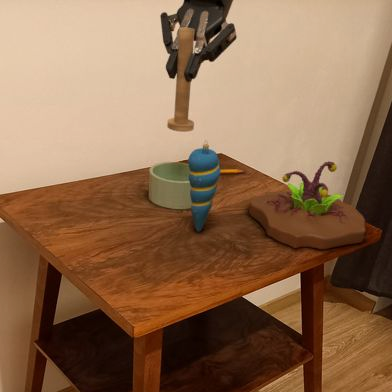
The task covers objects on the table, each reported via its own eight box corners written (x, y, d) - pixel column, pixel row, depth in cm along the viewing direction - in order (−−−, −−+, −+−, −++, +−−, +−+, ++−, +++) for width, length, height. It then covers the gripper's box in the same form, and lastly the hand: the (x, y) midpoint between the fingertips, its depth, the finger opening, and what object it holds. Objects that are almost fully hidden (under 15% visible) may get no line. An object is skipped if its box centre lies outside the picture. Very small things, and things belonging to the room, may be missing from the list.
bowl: (141, 203, 98) (142, 176, 95) (157, 183, 106) (158, 158, 103) (195, 213, 97) (198, 186, 94) (207, 192, 105) (210, 167, 102)
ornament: (192, 240, 89) (201, 147, 79) (176, 227, 92) (183, 137, 83) (218, 234, 91) (230, 144, 82) (202, 222, 94) (211, 134, 85)
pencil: (156, 171, 110) (157, 170, 109) (243, 169, 116) (244, 169, 115) (156, 175, 110) (157, 174, 110) (243, 173, 116) (244, 172, 115)
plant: (383, 246, 93) (404, 183, 86) (280, 253, 88) (294, 186, 81) (329, 199, 108) (344, 142, 101) (238, 202, 103) (247, 142, 96)
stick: (164, 129, 92) (169, 28, 83) (171, 122, 96) (176, 25, 86) (190, 133, 92) (198, 32, 82) (196, 126, 95) (204, 28, 86)
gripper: (170, -42, 87) (133, 53, 85) (252, -31, 83) (214, 69, 81) (182, -5, 94) (147, 84, 92) (257, 7, 90) (222, 99, 89)
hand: (178, 76), depth 87 cm, fingers closed on stick, 2 cm apart
